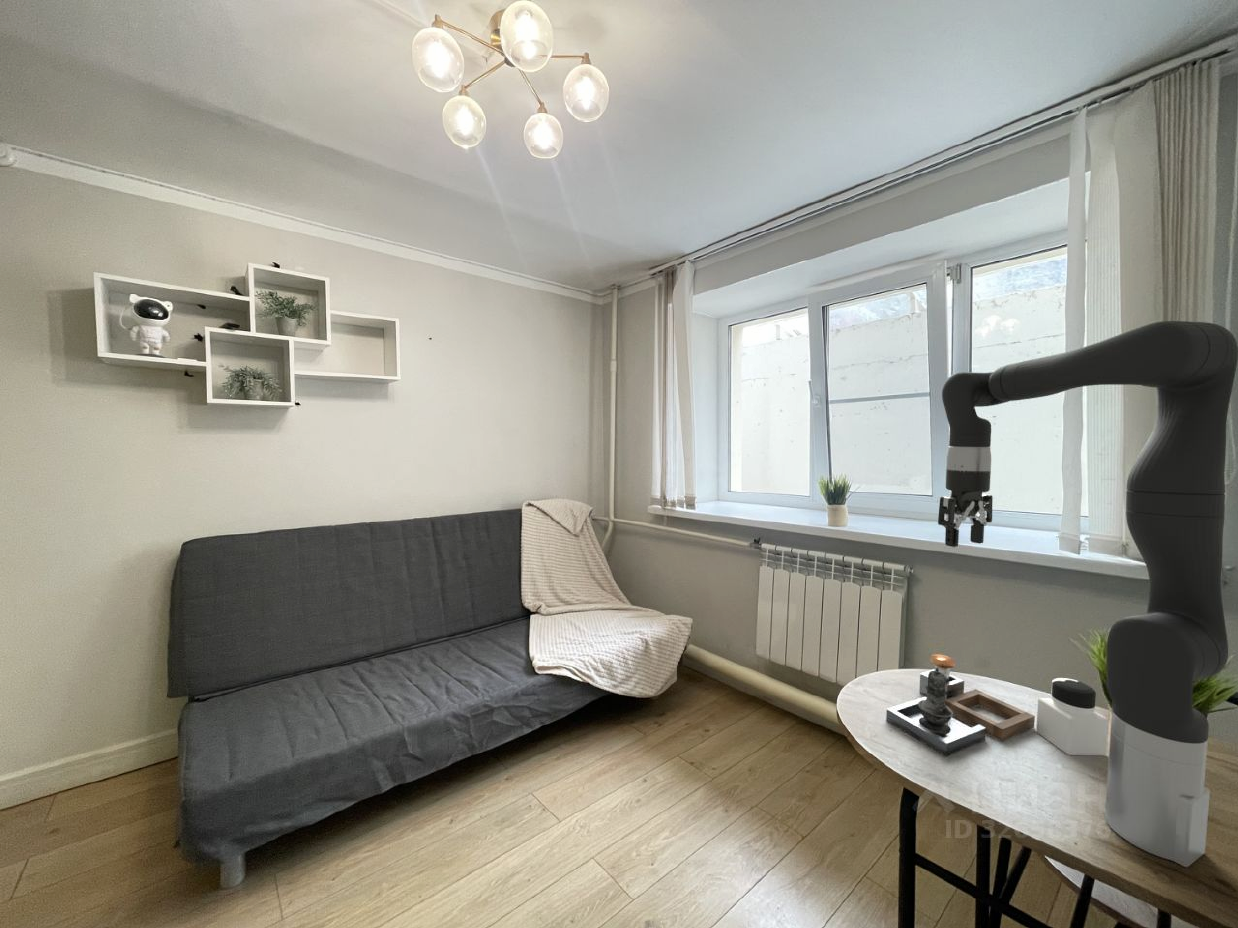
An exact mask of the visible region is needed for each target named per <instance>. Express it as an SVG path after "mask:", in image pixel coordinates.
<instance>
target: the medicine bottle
mask: <svg viewBox="0 0 1238 928" xmlns="http://www.w3.org/2000/svg"><path fill="white" fill-rule="evenodd" d="M1050 693H1051V695H1050V697H1051V698H1050V697H1038V698H1037V699H1038V700H1037V712H1036V715H1037V716H1036V729H1035V731H1036V733H1037V734H1039V735H1040V736H1042V737H1043V738H1044V739H1046V740H1047V741H1049V743H1051V744H1052V745H1054V746H1055V747H1057V748H1058V749H1060V750H1061V751H1062V752H1064V753H1065V754H1066V755H1068V756H1106V755H1107V752H1108V751H1107V747H1108V734H1109V723H1110V722H1109V719H1108V718H1107V717H1105V716H1104V715H1102V714H1101V713H1098V712H1097V711H1095V709H1096V699H1097V693H1096V691H1095V690H1094V688H1092V687H1091V686H1089V685H1088V684H1086V683H1085V682H1081V681H1079V680H1076V679H1074V678H1073V679H1072V678H1067V677H1066V678H1065V677H1057V678H1054V679H1052V681H1051V692H1050Z"/></svg>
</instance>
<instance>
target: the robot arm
mask: <svg viewBox="0 0 1238 928" xmlns="http://www.w3.org/2000/svg"><path fill="white" fill-rule="evenodd" d="M1237 367H1238V342H1237V340H1236V338H1235V336H1234V334H1233V333H1232V332H1231V331H1230V330H1228V328H1225V327H1224V326H1222V325H1220V324H1216V323H1212V322H1206V321H1187V320H1186V321H1184V320H1162V321H1156V322H1152V323H1149V324H1146V325H1142V326H1139V327H1137V328H1135V329H1131V330H1129V331H1126V332H1123V333H1119V334H1117V335H1115V336H1113V337H1109V338H1107V339H1104V340H1101V341H1099V342H1096V343H1092V344H1089V345H1087V346H1083V347H1080V348H1077V349H1073V350H1069V351H1065V352H1062V353H1057V354H1052V355H1048V356H1044V357H1043V356H1042V357H1038V358H1033V359H1028V360H1022V361H1017V362H1014V363H1009V364H1007V365H1003V366H1001V367H998V368H997V369H995V370H994V371H989V372H971V371H970V372H969V371H968V372H967V371H964V372H963V371H960V372H955V373H953V374H951V375H949V376H948V378H947V379H946V381H945V382H944V384H943V387H942V390H941V398H942V404H943V407H944V411H945V416H946V420H947V423H948V426H949V437H948V438H949V439H948V440H949V441H948V450H947V455H946V469H945V470H946V472H945V473H946V475H945V489H946V490H948V491H951V495H950V497H949V496H940V498H939V505H938V506H939V507H938V508H939V509H938V517H937V518H938V519H937V525H939V526H943V527H944V528H945V533H944V534H945V536H944V537H945V539H944V542H945V543H944V544H945V546H948V547H952V548H955V547H956V548H957V547H958V546H959V537H960V536H959V535H960V529H959V528H960V526H961V524H962V523H963V522H965V521H966V520H967V518H969V521H970V523H971V525H970V537H969V539H970V542H971V543H973V544H984V537H985V536H984V535H985V527H986V526H987V525H988V523H992V521H993V499H994V497H993V495H992V494H983V493H988V492H989V491H990V490H991V473H992V452H991V441H992V424H991V422H990V420H988V419H985V418H983V417H980V416H978V414H977V411H976V407H979V408H980V407H981V408H982V407H983V408H984V407H992V406H998V405H1001V404H1005V403H1008V402H1014V401H1021V400H1022V401H1023V400H1030V399H1037V398H1044V397H1048V396H1054V395H1057V394H1059V393H1063V392H1066V391H1069V390H1072V389H1076V388H1083V387H1088V386H1101V385H1102V386H1103V385H1104V386H1106V385H1107V386H1108V385H1112V386H1114V385H1118V386H1119V385H1120V386H1121V385H1125V386H1127V385H1128V386H1133V385H1134V386H1143V387H1146V388H1156V415H1155V420H1154V421H1155V422H1154V427H1153V429H1152V431H1151V434H1150V436H1149V437H1148V439H1147V441H1146V443H1144V445H1143V447H1142V449H1141V450H1140V453H1139V454H1138V456H1136V457H1137V458H1136V459H1135V460H1134V463H1133V465H1132V467H1131V468H1130V470H1129V473H1128V476H1127V479H1126V488H1125V489H1126V490H1125V491H1126V492H1125V516H1126V524H1127V528H1128V530H1129V531H1128V532H1129V534H1130V535H1131V538H1132V540H1133V542H1134V544H1135V546H1136V548H1137V549H1138V551H1139V553H1140V555H1141V557H1142V559H1143V562H1144V563H1145V565H1146V570H1147V572H1148V578H1149V579H1148V580H1149V581H1148V582H1149V594H1148V603H1147V609H1146V610H1147V611H1146V612H1145V614H1138V615H1137V614H1136V615H1131V616H1126V617H1123V618H1120V619H1118V620H1117V621H1116V622H1115V623H1113V625H1112V626H1111V628H1110V630H1109V632H1108V634H1107V641H1106V652H1105V653H1106V656H1105V657H1106V659H1105V660H1106V666H1105V667H1106V670H1105V673H1106V676H1105V678H1106V688H1107V691H1108V695H1109V696H1110V699H1111V700H1112V701H1111V702H1112V705H1111V706H1112V709H1111V721H1110V732H1109V733H1110V736H1109V737H1110V738H1109V749H1108V761H1107V763H1108V765H1107V777H1106V792H1105V794H1106V795H1105V802H1104V820H1105V822H1106V823H1107V824H1108V826H1109V828H1111V829H1112V830H1113V831H1114V832H1115V833H1116V834H1117V835H1119V836H1120V837H1121V838H1122V839H1124V840H1125V841H1127V842H1129V843H1130V844H1131V845H1133V846H1135V847H1137V848H1138V849H1141V850H1143V851H1145V852H1148V853H1149V854H1152V855H1154V856H1156V857H1160V858H1162V859H1166V860H1170V861H1172V862H1175V863H1176V864H1179V865H1180V866H1182V867H1184V868H1188V867H1190V866H1191V865H1192V864H1194V862H1195V861H1197V860H1198V859H1199V858H1201V857H1202V856H1203V855H1204V854H1205V853H1206V843H1207V830H1208V818H1209V807H1210V806H1209V805H1210V794H1211V791H1210V789H1209V788H1208V787H1207V786H1205V778H1206V777H1205V776H1206V766H1207V765H1206V763H1207V751H1208V741H1209V731H1210V724H1209V720H1208V719H1207V717H1206V716H1205V715H1204V714H1203V713H1202V712H1201V711H1199V710H1198V709H1196V708H1194V707H1193V704H1194V703H1193V694H1194V691H1193V689H1194V687H1193V686H1194V682H1195V681H1199V680H1204V679H1208V678H1212V677H1214V676H1216V675H1218V674H1220V672H1221V671H1222V670H1223V669H1224V668H1225V667H1226V665H1227V662H1228V659H1229V643H1228V641H1229V640H1228V635H1227V628H1226V620H1225V613H1224V612H1225V611H1224V605H1223V598H1222V568H1223V550H1224V549H1223V545H1224V544H1223V543H1224V542H1223V540H1224V526H1225V514H1226V513H1225V512H1226V511H1225V510H1226V509H1225V508H1226V507H1225V506H1226V504H1225V503H1226V484H1225V483H1226V482H1225V481H1226V479H1225V478H1226V477H1225V469H1226V453H1227V452H1226V451H1227V422H1228V421H1227V419H1228V415H1229V414H1228V413H1229V408H1230V402H1231V397H1232V392H1233V388H1234V387H1233V386H1234V383H1235V378H1236V377H1235V376H1236V371H1237ZM945 516H946V519H945Z"/></svg>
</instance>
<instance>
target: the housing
mask: <svg viewBox="0 0 1238 928" xmlns="http://www.w3.org/2000/svg"><path fill="white" fill-rule="evenodd" d="M930 671H935V668H933V669H931V670H926V671H925V672H924V671H923V672H921V673H919V689H918V690H919V691H918V692H919V693H920V694H921V695H924V697H927V690H926V688H925V687H926V686H927V685H928V674H929V672H930ZM945 690H946V691H947V694H946V695H945V699H948V698H951V697H954V696H957V695H960V694H963V693H965V691H964V690H965V680H964V679H961V678H960V677H957V676H955V675H953V674H951V673H950V678H949V682H947V683H945Z"/></svg>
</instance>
